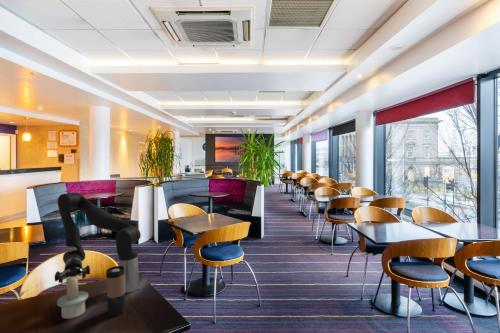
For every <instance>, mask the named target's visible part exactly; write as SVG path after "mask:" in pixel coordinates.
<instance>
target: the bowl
mask: <svg viewBox="0 0 500 333" xmlns="http://www.w3.org/2000/svg"><path fill="white" fill-rule="evenodd" d="M60 309H61V310H60V311H61V318H63V319H69V320H70V319H73V318H76V317H79V316H80V315H81V316H82V315H83V314H84V313H85V312H86V300H85V301H84V302H82V303H80V304H77V305H75V306H71V307H60Z"/></svg>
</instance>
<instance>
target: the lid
mask: <svg viewBox="0 0 500 333" xmlns="http://www.w3.org/2000/svg"><path fill="white" fill-rule="evenodd" d="M65 280H66V294H64V295H62V296H61V297H59V298H58V299H57V301H56V305H57V306H58V307H60V308H61V307H71V306H75V305H77V304H80V303H82V302H84V301H85V302H86V300H87V299H88V298H89V292H87V291H84V290H79V276H74V277H69V278H67V279H65Z"/></svg>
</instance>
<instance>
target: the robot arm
mask: <svg viewBox="0 0 500 333" xmlns="http://www.w3.org/2000/svg"><path fill="white" fill-rule="evenodd" d="M57 207H58V210H59V215H60V219H61V222H62V225H63V229H64V238H65V239H64V240H65V246H66V247H68V248H76V249H73V250H72V249H71V250H68V251H66V252H64V254H63V255H62V260H63V263H64V264H65V265H64V270H63V271H62V272H60V271H58V270H56V272H55V274H54V282H58V283H60V284H63V281H64V280H66V279H67V278H70V277H74V276H77V277H81V278H82V279H83V280H84V279H85V278H86V277H87V275H90V274H91V268H90V265H88V264H87V265H86V266H85V267H83V261H84V260H85V259H86V252H85V250H84V247H83V245H82V242H81V231H80V229H79V226H78V225H77V223H76V221H74V219H73V216H72V214H71V213H72V212H71V211H72V210H73V209H76V210H79V211H81V212H82V213H84V214H85V218H86V220H87V221H88V222H89V223H90V224H91V225H93V226H94V227H97V228H99V229H102V230H107V231H112V232H115V233H116V235H115V244H116V253H117V256H118V266H123V267H124V272H125V294H127V293H128V294H129V293H132V292H136V291H137V290H139V289H140V270H139V262H138V261H139V259H138V258H139V253H138V250H136V249H134V248H133V245H132V244H135V243H136V242H138V241H139V240H140V239H141V238H142V237H141V236H142V234H141V231H140V230H139V228H138V227H137V226H134V225H133V224H130V223H128V222H126V221H123V220H121V219H119V218H118V217H116V216H115V215H113V214H111V213H109V212H108V211H106V210H105V209H103V208H101V207H99V206H97V205H96V204H95V203H93V202H92V201H90V200H89V199H87V198H86V197H85V196H83V195H82V194H81V193H79V192H68V193H62V194H60V195H59V196H58V198H57Z"/></svg>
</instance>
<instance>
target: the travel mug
mask: <svg viewBox="0 0 500 333" xmlns="http://www.w3.org/2000/svg"><path fill="white" fill-rule="evenodd" d="M105 273H106V276H105V277H106V302H107V314H108V316H109V315H110V317H117V316H120V315H123V314H124V313H125V311H126V293H125V272H124V267H123V266H119V265H116V266H112V267H109V268H107V269H106V271H105Z"/></svg>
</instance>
